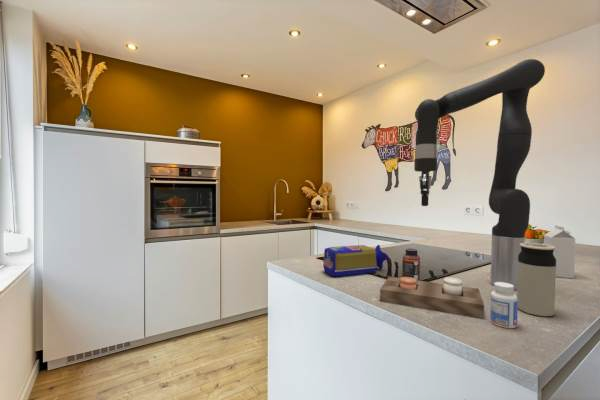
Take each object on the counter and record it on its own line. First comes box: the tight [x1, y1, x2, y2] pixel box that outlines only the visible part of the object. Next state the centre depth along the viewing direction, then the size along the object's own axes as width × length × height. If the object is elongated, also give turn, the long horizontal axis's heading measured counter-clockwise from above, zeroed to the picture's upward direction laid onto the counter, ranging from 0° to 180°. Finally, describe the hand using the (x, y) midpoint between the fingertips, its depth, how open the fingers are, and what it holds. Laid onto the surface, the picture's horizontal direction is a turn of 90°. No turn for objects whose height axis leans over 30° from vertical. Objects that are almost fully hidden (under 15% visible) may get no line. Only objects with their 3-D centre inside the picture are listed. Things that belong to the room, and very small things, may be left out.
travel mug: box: [516, 242, 557, 317], centre depth 79 cm, size 8×8×18 cm
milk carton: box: [543, 225, 576, 279], centre depth 112 cm, size 7×7×19 cm
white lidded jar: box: [443, 276, 463, 296], centre depth 84 cm, size 5×5×5 cm
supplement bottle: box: [401, 248, 421, 281], centre depth 105 cm, size 6×6×11 cm
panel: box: [379, 276, 485, 319], centre depth 86 cm, size 26×14×4 cm, turn 63°
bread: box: [323, 244, 389, 278], centre depth 116 cm, size 10×25×10 cm, turn 111°
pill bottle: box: [490, 282, 518, 329], centre depth 71 cm, size 6×5×10 cm
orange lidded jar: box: [399, 276, 416, 290], centre depth 89 cm, size 5×5×5 cm
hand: (424, 205), depth 106 cm, fingers closed
